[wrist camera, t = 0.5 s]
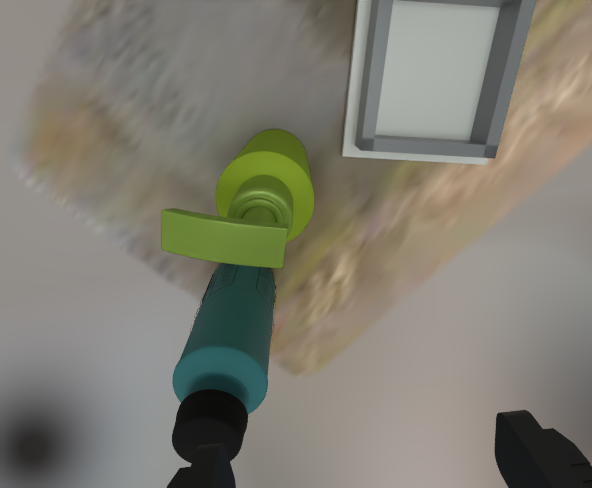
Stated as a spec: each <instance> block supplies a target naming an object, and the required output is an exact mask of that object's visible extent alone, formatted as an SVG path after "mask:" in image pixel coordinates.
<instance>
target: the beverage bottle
mask: <svg viewBox="0 0 592 488" xmlns="http://www.w3.org/2000/svg"><path fill="white" fill-rule="evenodd" d="M214 271H215V270H214ZM214 273H215V274H212V276H211V277H213V278H211V279H210V282H209V285H208V287H207V289H206V293H205V295H204V297H203V299H202V305H201V307H200V310H199V312H198V315H197V317H196V319H195V322H194V325H193V328H192V331H191V333H190V336H189V338H188V341H187V343H186V346H185V348H184V351H183V353H182V356H181V358H180V360H179V362H178V364H177V365H176V367H175V370H174V373H173V388H174V391H175V394H176V396H177V398H178V399H179V401H180V402H181V404H180V407H179V410H178V412H177V416H176V422H175V426H174V430H173V434H172V443H173V447H174V449H175V451H176V452H177V454H179V456H180V457H182V458H183V459H184V460H186V461H188V462H190V463H192V461H193V457H194V454H195V451H196V448H197V447H198V446H200V445H208V444H217V443H224V445H225V447H226V450H227V454H228V457H229V461H231V460H232V459H234V458H235V457H236V456H237V454H238V453H239V451H240V449H241V445H242V441H243V437H244V433H245V431H246V428H247V422H248V414H249V413H251V412H253V411H254V410H255V409H256V408H257V407H258V406H259V405H260V404H261V403H262V401H263V400H264V398H265V396H266V392H267V386H268V379H267V375H268V364H269V352H270V341H271V336H272V335H271V334H273V333H272V327H273V326H272V322H273V308H274V302H275V301H274V294H275V289H276V288H277V287H276V286H275V281H274V277H273V275H272V273H271V270H269V268H268V267H257V266H246V265H237V264H228V263H223V264H221V265H220V266H219V267H218V269H217V270H216V271H215V272H214ZM213 275H214V276H213ZM211 280H212V281H211ZM275 298H276V295H275ZM200 304H201V302H200ZM275 305H276V302H275ZM273 325H274V323H273ZM273 328H274V327H273ZM273 331H274V330H273Z"/></svg>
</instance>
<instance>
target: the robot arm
mask: <svg viewBox="0 0 592 488" xmlns="http://www.w3.org/2000/svg"><path fill="white" fill-rule="evenodd" d="M495 458H496V462H497V465H498V468H499V471H500V473H501V475H502V477H503V478H504V480H505V482H506V484H507V486H508V487H509V488H592V466H591V465H590V462H589V461H588V460H587V459H586V457H585V456H584V455H583V454H582V453H581V451H580V450H579V449H578V448H577V446H576V445H575V444H574V443H572V442H571V441H570V440H568V439H567V438H566V437H564V436H563V435H562V434H560V433H559V432H557V431H556V430H555V429H553V428H551V429H542V428H541V426H540V425H539V424H538V422H537V421H536V420H535V418H534V417H533V416H532V414H530V413H529V412H528V411H526V410H520V411H511V412H502V413H498V414H497V418H496V434H495ZM167 488H236V486H235V478H234V475H233V471H232V467H231V464H230V461H229V457H228V454H227V450H226V447H225V445H224V443H217V444H208V445H200V446H198V447H197V448H196V451H195V454H194V457H193V461H192V464H191V467H185V468H180V469H179V470H178V472H177V473H176V475H175V476H174V477H173V479H172V480H171V482H170V483H169V484H168V486H167Z"/></svg>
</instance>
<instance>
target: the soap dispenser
mask: <svg viewBox="0 0 592 488" xmlns="http://www.w3.org/2000/svg"><path fill="white" fill-rule="evenodd" d="M216 206H217V210H218V213H219V216H213V215H207V214H200V213H195V212H190V211H185V210H180V209H174V208H172V209H164V210H162V221H161V247H162V250H164V251H167V252H171V253H175V254H179V255H183V256H187V257H191V258H196V259H201V260H207V261H213V262H220V263H228V264H237V265H246V266H257V267H269V268H281V269H282V268H283V262H284V255H285V248H286V242H288V241H290V240H292V239H294V238H295V237H296V236H298V235H299V234H300V233H301V232H302V231H303V230H304V229H305V227H306V226H307V224H308V223H309V221H310V218H311V216H312V213H313V209H314V191H313V186H312V181H311V176H310V171H309V166H308V160H307V155H306V152H305V149H304V147H303V145H302V144H301V142H300V141H299V140H298V139H297V138H296V137H295V136H294V135H292V134H291V133H289V132H286V131H284V130H279V129H270V130H266V131H263V132H261V133H259V134H257V135H256V136H255V137H253V138H252V139H251V141H250V142H249V143H248V144H247V145H246V146H245V147H244V148H243V150H242V151H241V152H240V153H239V154H238V155H237V156H236V157H235V159H234V160H233V161H232V162H231V163H230V164H229V165H228V166H227V168H226V169H225V170H224V172H223V173H222V175H221V177H220V179H219V181H218V184H217V188H216Z"/></svg>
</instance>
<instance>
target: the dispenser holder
mask: <svg viewBox="0 0 592 488" xmlns="http://www.w3.org/2000/svg"><path fill="white" fill-rule="evenodd" d="M535 4H536V0H357V5H356V15H355V25H354V34H353V44H352V54H351V63H350V73H349V83H348V92H347V102H346V112H345V122H344V131H343V141H342V151H341V155H342V156H344V157H362V158H379V159H396V160H413V161H430V162H447V163H464V164H481V165H486V163H487V159H488V158H495V156H496V153H497V149H498V145H499V141H500V137H501V133H502V130H503V126H504V122H505V118H506V114H507V111H508V107H509V103H510V99H511V95H512V91H513V88H514V84H515V80H516V76H517V72H518V69H519V65H520V61H521V57H522V53H523V49H524V46H525V42H526V38H527V34H528V30H529V26H530V23H531V19H532V15H533V11H534V7H535Z"/></svg>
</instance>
